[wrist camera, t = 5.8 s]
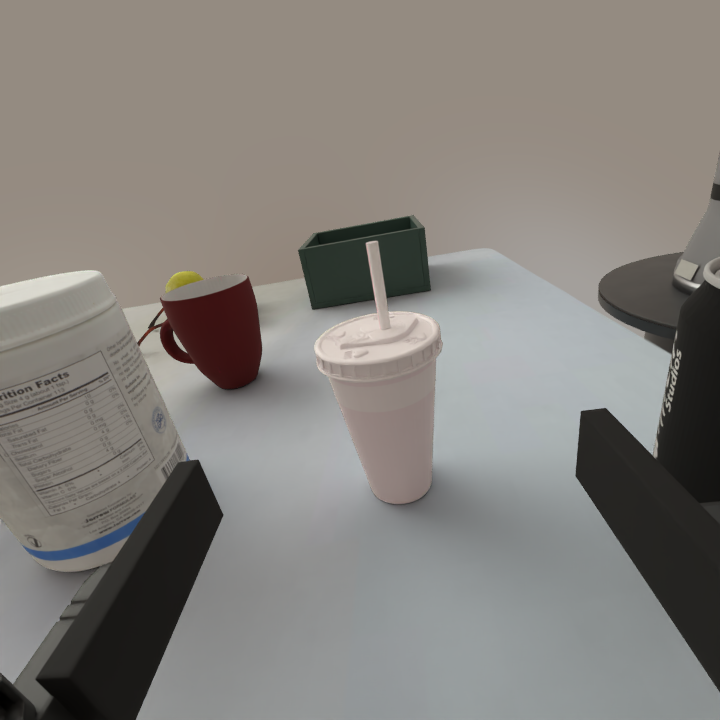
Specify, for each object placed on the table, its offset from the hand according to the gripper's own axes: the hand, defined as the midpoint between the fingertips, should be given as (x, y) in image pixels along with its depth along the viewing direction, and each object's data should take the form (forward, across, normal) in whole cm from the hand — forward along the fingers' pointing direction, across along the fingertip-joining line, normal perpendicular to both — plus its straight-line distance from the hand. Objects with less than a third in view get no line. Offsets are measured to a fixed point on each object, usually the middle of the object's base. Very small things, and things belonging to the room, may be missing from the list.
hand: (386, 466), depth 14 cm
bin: (+52, -2, -8) cm, 53 cm away
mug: (+24, -17, -8) cm, 31 cm away
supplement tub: (+7, -18, -8) cm, 21 cm away
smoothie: (+7, 0, -8) cm, 11 cm away
